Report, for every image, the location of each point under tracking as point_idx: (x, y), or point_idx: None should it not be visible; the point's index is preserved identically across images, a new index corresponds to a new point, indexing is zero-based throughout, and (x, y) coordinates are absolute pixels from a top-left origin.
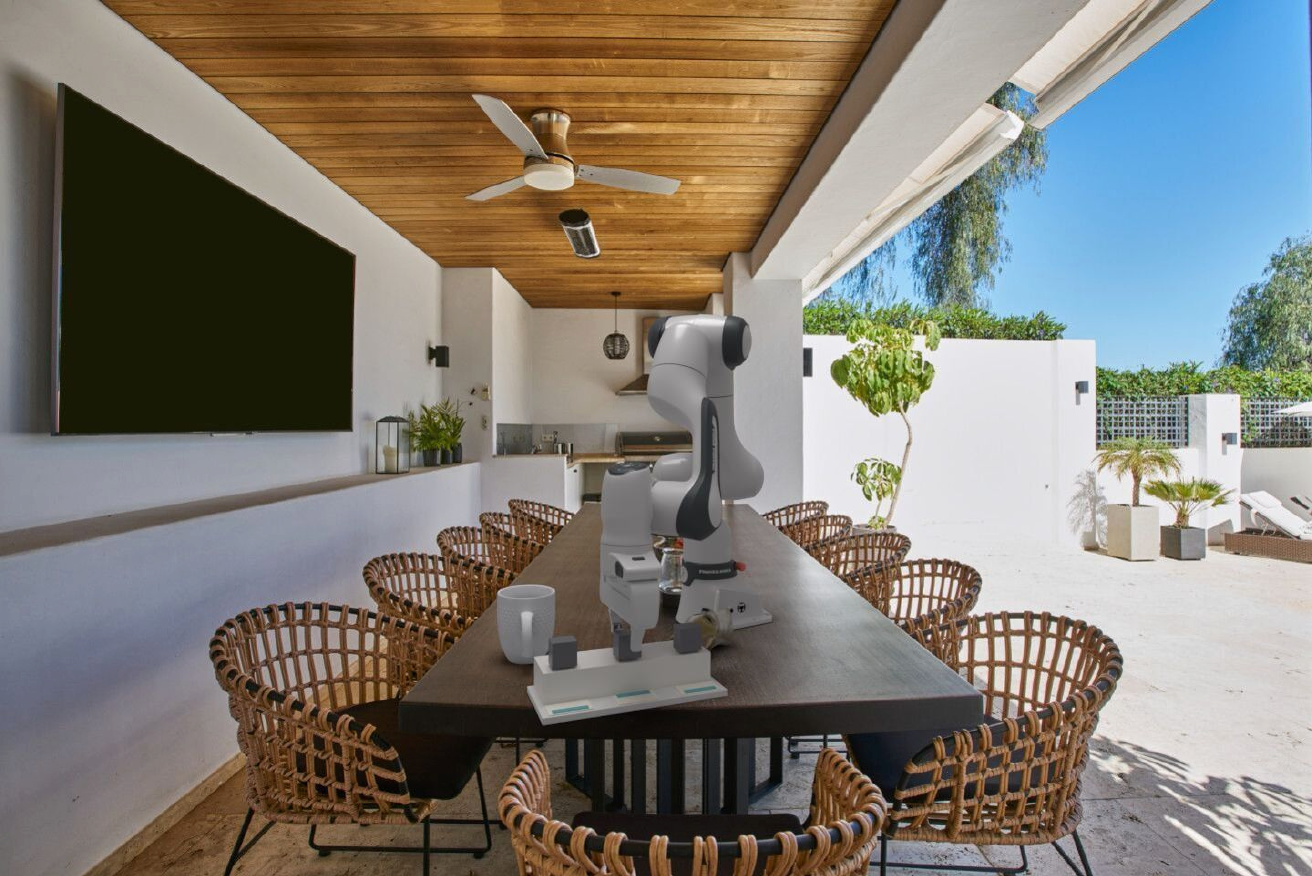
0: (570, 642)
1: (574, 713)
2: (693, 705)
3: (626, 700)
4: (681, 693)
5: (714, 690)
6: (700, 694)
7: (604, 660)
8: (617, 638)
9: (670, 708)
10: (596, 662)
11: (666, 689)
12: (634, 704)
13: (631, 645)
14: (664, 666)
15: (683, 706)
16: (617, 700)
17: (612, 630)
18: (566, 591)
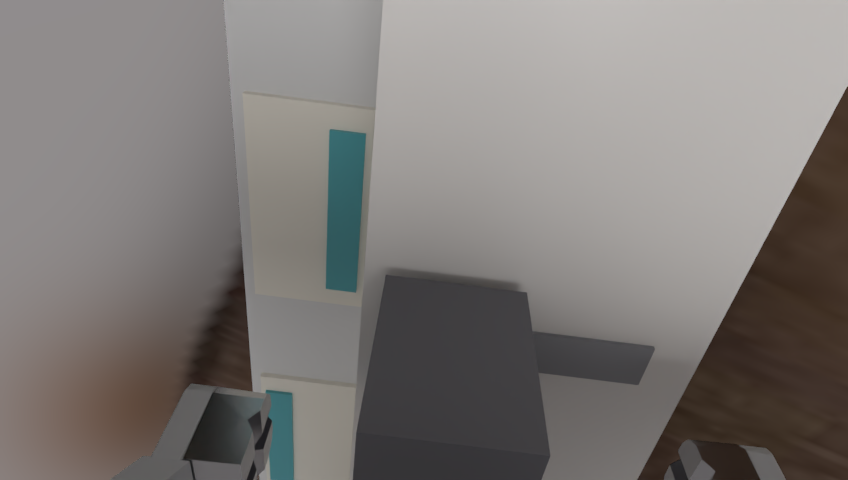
0: None
1: None
2: (227, 367)
3: (281, 154)
4: (272, 377)
5: (267, 466)
6: None
7: (489, 200)
8: (404, 407)
9: (226, 293)
10: (478, 126)
11: (350, 354)
12: (236, 171)
13: (174, 419)
14: None
15: (230, 338)
16: (295, 111)
17: (736, 462)
18: None
